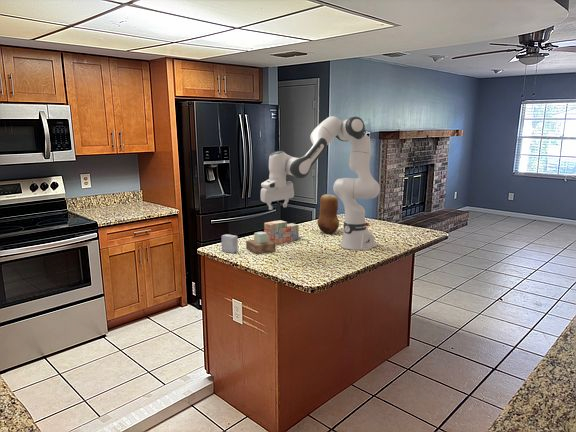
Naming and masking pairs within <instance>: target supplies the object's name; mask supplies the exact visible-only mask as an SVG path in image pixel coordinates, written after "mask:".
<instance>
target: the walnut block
mask: <svg viewBox="0 0 576 432" xmlns="http://www.w3.org/2000/svg"><path fill="white" fill-rule="evenodd" d="M245 246H246V249H245V250H248V251H249V252H251V253H253V254H254V255H260V254H269V253H275V252H276V246H277V244H276V243H274V242H272V241H270V240H268V239H267V242H265V243H257V242H254V239H250V240H246V241H245Z"/></svg>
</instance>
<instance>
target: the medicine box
mask: <svg viewBox="0 0 576 432" xmlns="http://www.w3.org/2000/svg"><path fill="white" fill-rule="evenodd" d="M238 238H239V237H238V235H233V234H223V235H221V239H220V240H221V251H222V252H226V253H232V254H234V253H237V252H238V251H239V242H238V240H239V239H238Z"/></svg>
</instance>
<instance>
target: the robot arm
mask: <svg viewBox="0 0 576 432" xmlns="http://www.w3.org/2000/svg"><path fill="white" fill-rule="evenodd" d="M366 133H367V132H366V126H365V122H364V120H363V119H362V118H361V117H359V116H351V117H349V118H347V119H345V120H343V121H342V120H340V119H339V118H338V117H336V116H333V115H331V116H328V117H326V119H324V120H323V121H321V122H320V123H319V124H318V125H317V126H316V127H315V128H314V129H313V130H312V132H311V134H310V135H309V138H310V141H311V144H312V146H311V147H310V148H309V150H308V151H307V152H306V153H305V154H304V155H303V156H301V157H295V156H291V155H289V154H287V153H286V152H285V151H283V150H277V151H272V152H271V153H270V154H269V158H268V171H269V175H268V179H266V180H265V181H263V182H261V184H260V186H261V189H260V201H261V202H263V203H265V204H266V205H267V206H268V211H272V210H274V206H273V205H272V202H276V201H277V202H278V201H283V200H284V202H283V204H282V207H283V208H287V207H288V203H289V199H293V198H294V197H295V189H294V183H293V181H291V180H288V181H287V175H290V176H292V177H295V178H297V179H303V178H305V177H307V176H308V175H309V174H310V172H311V169H312V167H313V165H314V164H315V163H316V162H317V160H319V158H320V157H321V156H322V155H323V153H324V152H325V151H326V149H327V147H328V146H329V144H330V143H331V142H332V141H333V140H334V139H335V138H336V139H337V140H339V141H340V142H348V141H349V142H350V154H349V161H348V167H349V169H350V170H351V171H352V172H354V173H355V174H356V175H357V177H356V178H355V177H342V178H337V179H336V180H335V181H334V183H333V189H332V190H333V193H334V194H335V196H336V197H337V198H339V200H341V203H342V204H343V208H344V221H343V232H342V238H341V241H340V244H341V245H340V247H341V248H343V249H345V250H354V251H368V250H370V249H373V248H375V247H377V245H378V246H379V243H378V242H376V241H375V236H374V234H373V233H372V232H371V231H369V229H368V228H367V227H370V223H369V222H365V220H366V219H365V217H366V210H365V207H364V206H362V205H361V204H359V203H358V202H357V200H356V199H361V200H362V199H363V200H370V199H376V198H377V197H378V196H379V194H380V190H381V187H380V184H379V182H378V181H377V180H375V178H374V177H373V175H372V173H371V170H370V169H371V168H370V161H371V149H372V146H371V145H372V144H371V143H372V142H371V138H370V136H369V135H367V134H366Z"/></svg>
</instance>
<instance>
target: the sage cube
mask: <svg viewBox="0 0 576 432" xmlns="http://www.w3.org/2000/svg"><path fill="white" fill-rule="evenodd" d="M253 235H254V236H253V237H254V239H253V240H254V242H257V243H265V242H267V233H265V232H264V231H257V232H254V233H253Z"/></svg>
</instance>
